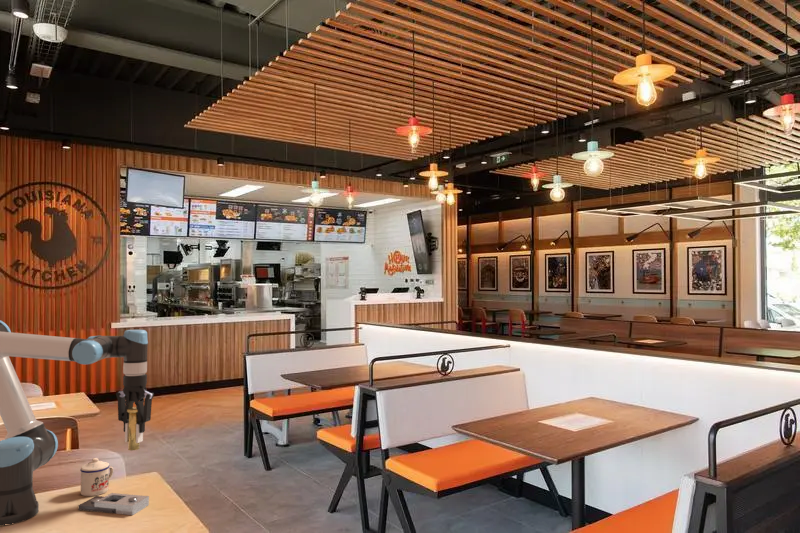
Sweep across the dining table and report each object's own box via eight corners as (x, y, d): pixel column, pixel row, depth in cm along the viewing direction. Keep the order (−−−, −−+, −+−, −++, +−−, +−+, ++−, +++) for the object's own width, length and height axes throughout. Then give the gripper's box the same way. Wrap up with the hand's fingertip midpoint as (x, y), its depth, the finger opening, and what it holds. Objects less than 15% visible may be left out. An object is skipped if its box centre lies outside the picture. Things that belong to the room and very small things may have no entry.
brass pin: (123, 450, 193) (123, 409, 193) (132, 446, 198) (133, 406, 198) (135, 451, 192) (136, 410, 192) (144, 447, 197) (145, 407, 197)
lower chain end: (78, 509, 182) (78, 503, 182) (96, 500, 190) (96, 494, 190) (116, 513, 179) (116, 507, 179) (132, 503, 187) (132, 497, 187)
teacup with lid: (92, 498, 191) (93, 464, 192) (73, 494, 195) (74, 460, 195) (121, 486, 203) (122, 454, 203) (103, 483, 206) (103, 451, 206)
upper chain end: (94, 511, 181) (94, 500, 181) (111, 501, 188) (112, 491, 188) (132, 515, 178) (132, 504, 178) (148, 505, 186) (148, 494, 186)
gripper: (163, 373, 198) (161, 440, 197) (121, 371, 201) (120, 437, 200) (149, 376, 190) (148, 446, 190) (106, 374, 194) (105, 443, 193)
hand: (133, 441), depth 195 cm, fingers closed on brass pin, 3 cm apart
